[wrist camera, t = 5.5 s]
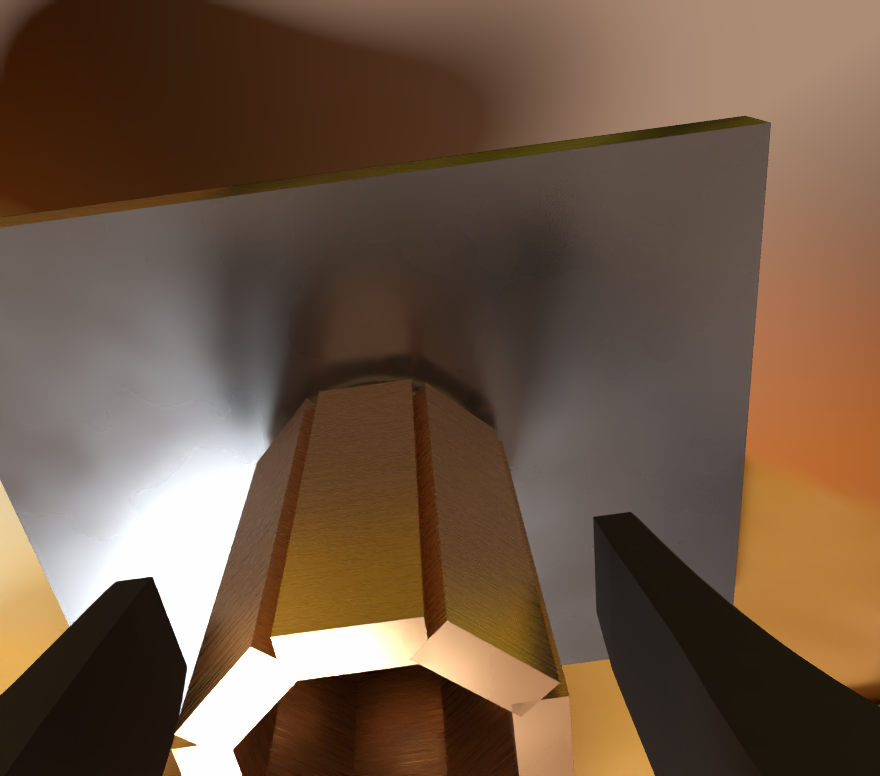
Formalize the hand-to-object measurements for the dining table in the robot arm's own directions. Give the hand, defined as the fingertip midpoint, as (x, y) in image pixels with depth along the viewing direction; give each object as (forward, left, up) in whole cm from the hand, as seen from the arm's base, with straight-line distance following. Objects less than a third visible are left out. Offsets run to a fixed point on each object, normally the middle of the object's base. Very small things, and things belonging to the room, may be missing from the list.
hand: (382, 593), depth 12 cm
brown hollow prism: (0, 0, -3) cm, 3 cm away
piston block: (0, 0, -4) cm, 4 cm away
